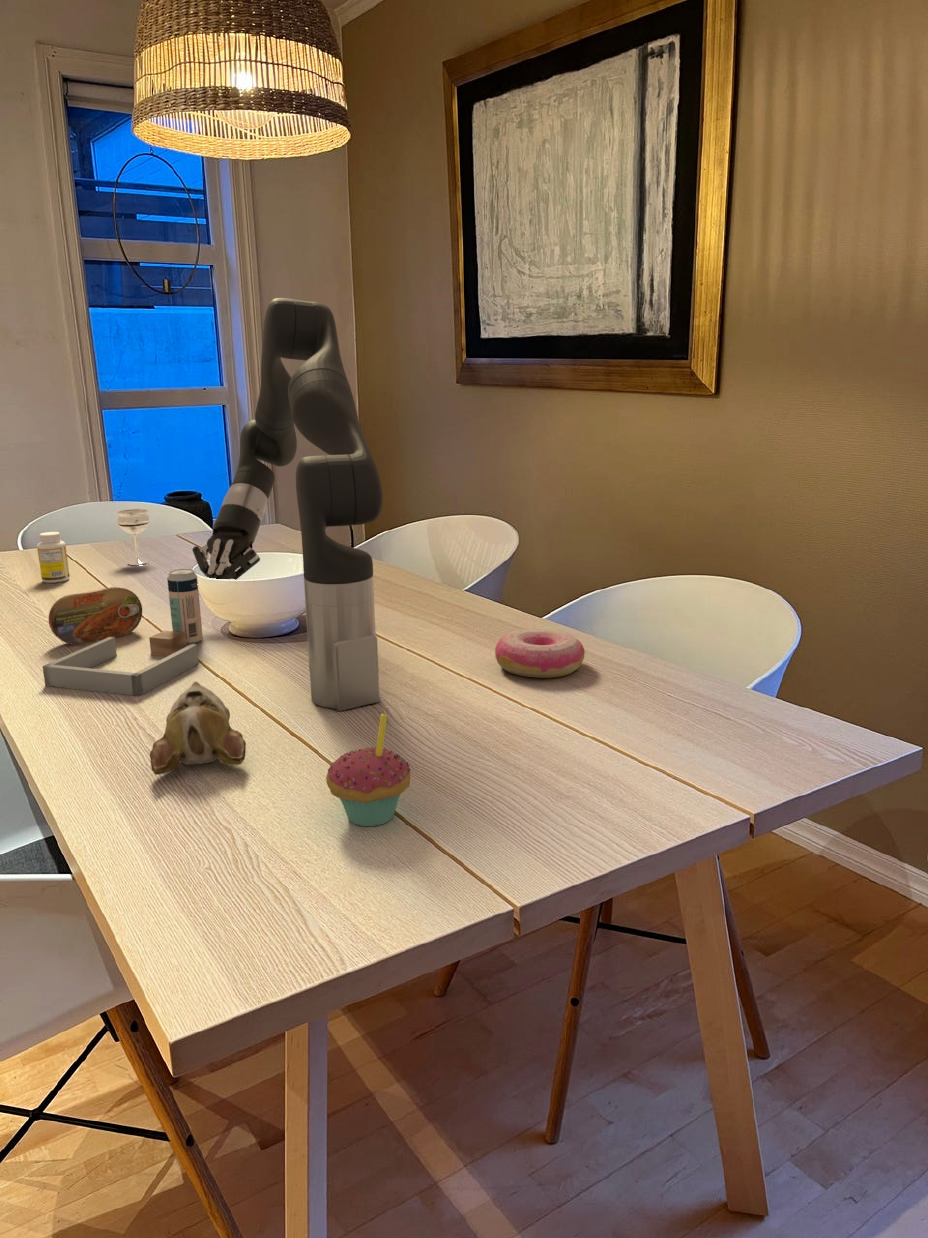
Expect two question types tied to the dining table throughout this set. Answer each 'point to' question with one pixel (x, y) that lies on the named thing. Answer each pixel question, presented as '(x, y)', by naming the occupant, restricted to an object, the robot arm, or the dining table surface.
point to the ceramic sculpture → (197, 733)
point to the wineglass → (134, 525)
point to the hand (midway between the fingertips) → (210, 597)
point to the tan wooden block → (167, 642)
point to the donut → (539, 653)
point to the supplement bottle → (53, 558)
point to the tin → (95, 615)
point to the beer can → (185, 604)
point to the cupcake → (369, 781)
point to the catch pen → (80, 675)
